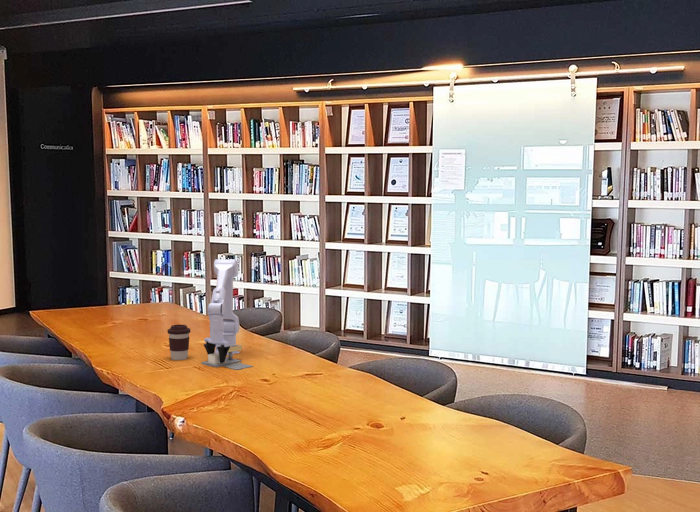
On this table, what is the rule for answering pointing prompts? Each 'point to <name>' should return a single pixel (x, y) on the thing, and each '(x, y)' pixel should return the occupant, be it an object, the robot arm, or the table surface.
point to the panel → (228, 361)
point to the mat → (238, 366)
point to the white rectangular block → (214, 358)
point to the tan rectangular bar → (235, 348)
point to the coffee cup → (179, 341)
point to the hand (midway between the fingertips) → (216, 360)
